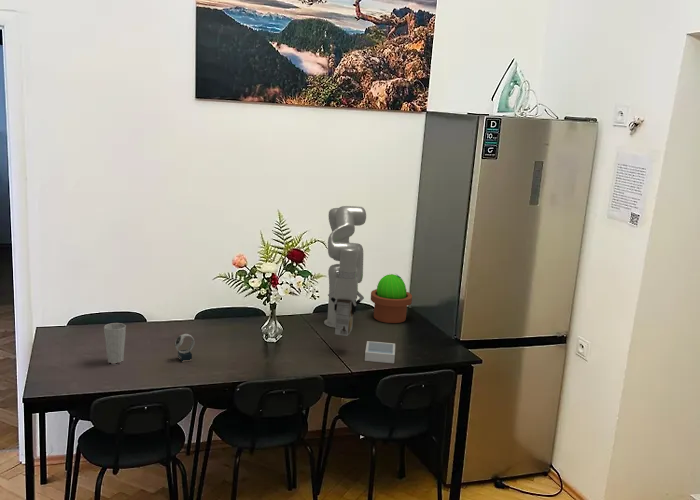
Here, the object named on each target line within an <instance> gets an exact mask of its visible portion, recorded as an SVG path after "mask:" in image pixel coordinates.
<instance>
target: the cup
mask: <svg viewBox="0 0 700 500" xmlns="http://www.w3.org/2000/svg"><path fill="white" fill-rule="evenodd" d="M126 328H127V325H126V324H125V323H123V322H111V323H107V324H105V325H104V326H103V332H104V333H103V334H104V341H105V348H106V349H105V350H106V358H107V362H108V361H109V362H111V363H117V362H121V361H123V362H124V355H125V344H126V330H127V329H126Z"/></svg>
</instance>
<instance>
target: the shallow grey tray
mask: <svg viewBox="0 0 700 500" xmlns="http://www.w3.org/2000/svg"><path fill="white" fill-rule="evenodd" d="M395 357H396V343H391V342H383V341H382V342H381V341H372V340H371V341H368V340H367V341H366V346H365V352H364V361H365V362H372V363H373V362H375V363H385V364H395Z"/></svg>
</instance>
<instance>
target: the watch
mask: <svg viewBox="0 0 700 500" xmlns="http://www.w3.org/2000/svg"><path fill="white" fill-rule="evenodd" d="M186 337H188V338H191V339H192V340H191V342H190V344H189V346H188V349H183V350H179V348H180V347H181V346H182V344H183V343H184V341H185V340H184V339H185V338H186ZM195 343H196V342H195V338H194V337H193V336H192V335H191V334H188V333H183V334H179V335H178V336H177V337H176V339H175V341H174V347H175V349H176V351H177V358H178V357H179V358H180V359H181V361H183V360H190V359H193V354H192V352H191V351H192V350H193V348H194V347H195ZM179 358H178V359H179ZM181 361H180V362H181Z"/></svg>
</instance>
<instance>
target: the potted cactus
mask: <svg viewBox="0 0 700 500" xmlns="http://www.w3.org/2000/svg"><path fill="white" fill-rule="evenodd" d="M370 301H371V302H372V303H374V305H373V306H374V307H373V319H375V320H376V321H379V322H381V323H387V324H401V323H403V322H405V321H406V320H407V319H406V318H407V310H408V306H410V305H411V304H412V302H413V295H412V293H410V292H409V291H407V287H406V284H405V281H404V279H403V278H402V277H401V276H400V275H398V274H395V273H394V274H393V273H389V274H385V275H383V277H381V278H380V279H379V281H378V282H377V285H376V289H373V290H371V291H370Z"/></svg>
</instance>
